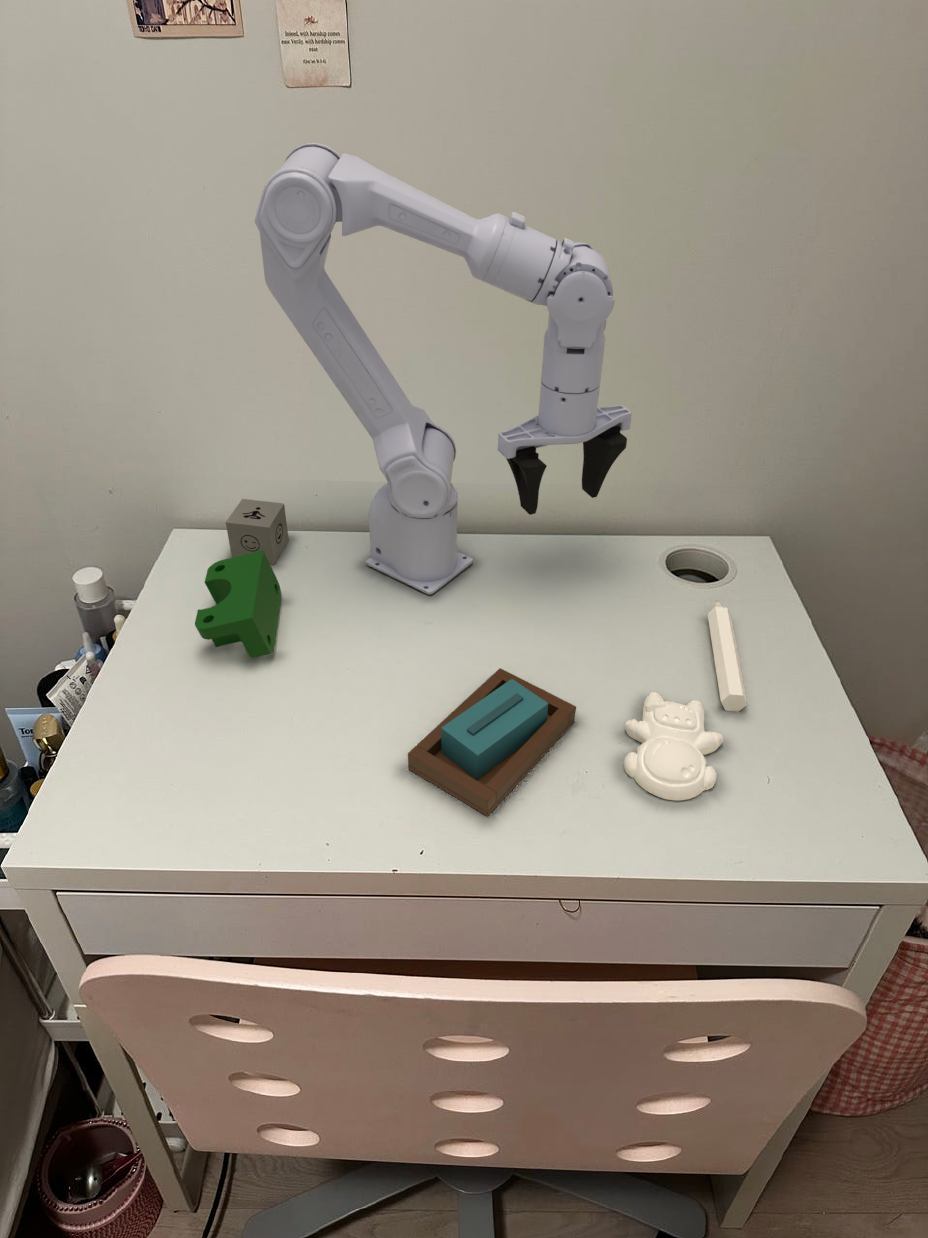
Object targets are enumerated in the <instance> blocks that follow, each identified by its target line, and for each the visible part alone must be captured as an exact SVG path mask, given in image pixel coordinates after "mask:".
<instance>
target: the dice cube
mask: <svg viewBox="0 0 928 1238" xmlns="http://www.w3.org/2000/svg"><path fill="white" fill-rule="evenodd" d="M285 507H286V505H285V503H282V502H274V501H266V500H265V501H264V500H257V499H256V500H255V499H250V498H249V499H248V498H241V500H240V501H239V503H238V504H237V506H236V507H235V508H234V510H233V511H232V513H231V514H230V515H229V517H228V518H227V520H226V521H225V526H226V532H227V538H228V544H229V548H230V555H231V558H233V557H237V556H241V555H245V554H249V553H253V552H258V551H262V550H264V552H265V555H266V557H267V559H268V561H269V563H270V565H275V564H276V562H277V561H278V559H279V557H280V555H281V554H282V552H283V550H284V549H285V547H286V546H287V544H288V542H289V540H290V538H289V531H288V522H287V515H286V508H285Z"/></svg>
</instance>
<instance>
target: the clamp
mask: <svg viewBox="0 0 928 1238" xmlns="http://www.w3.org/2000/svg"><path fill="white" fill-rule="evenodd" d="M204 584H205V586H206V588H207V590H208V592H209V593H210V595H211V597H212V599H213V601H214V603H215V605H212V606H210V607H207V608H202V609H197V612H196V617H195V620H194V627H195V629H196V630H197V631H198V634H199V636H200V638H202V639H204V640H208V641H209V640H211V642H212V643H213V645H214V646H215V648H218V647H224V646H226V645H231V644H236V643H240V642H241V644H242V647H244V649H245V651H246V654H247V655H248V657H249V658H250V659H256V658H260V657H264V656H269V655H274V653H275V650H276V649H275V648H276V642H277V634H278V627H279V626H278V625H279V618H280V610H281V604H282V603H281V602H282V590H281V587H280V583H279V580H278V578H277V576H276V574H275V572H274V569H273V568H272V564H270V563H269V561H268V559H267V557H266V555H265V552H264V550H262V551H258V552H253V553H249V554H245V555H241V556H237V557H233V558H232V557H228V558H225V559H221V560H218V561H216V562H214V563H212V564H211V565H210V566H209V567H208V568H207V570H206V575H205V578H204Z"/></svg>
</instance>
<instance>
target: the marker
mask: <svg viewBox="0 0 928 1238" xmlns="http://www.w3.org/2000/svg"><path fill="white" fill-rule="evenodd" d="M707 621H708V627H709V634H710V639H711V648H712V651H713V661H714V665H715V672H716V678H717V679H716V680H717V686H718V692H719V698H720V703H721V705H722V707H723V709H724V710H725V711H727V712H740V711H741V710H742V709H743V708H745V707H746V706H747V705H748V700H747V696H746V695H747V694H746V690H745V685H744V684H745V683H744V678H743V673H742V668H741V662H740V657H739V656H740V655H739V652H738V646H737V640H736V635H735V630H734V624H733V619H732V615H731V613H730V611H729V608H728V607H723V606H722V604H721V603H720V602H719V600H716V601H715V603H714V606H713V608H712V609H711V610H710V611H709V612H708V613H707Z"/></svg>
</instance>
